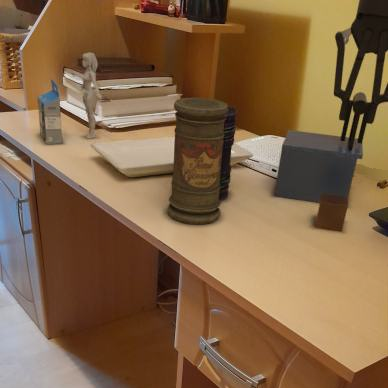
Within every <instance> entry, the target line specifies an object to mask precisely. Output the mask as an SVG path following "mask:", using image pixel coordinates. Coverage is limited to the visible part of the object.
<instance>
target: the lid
mask: <svg viewBox="0 0 388 388" xmlns="http://www.w3.org/2000/svg"><path fill="white" fill-rule="evenodd" d="M352 100H353V106H352V112H353V118H352V121H351V127H350V131H349V135H348V136H346V137H345V141H341V135H333V134H325V133H317V132H310V131H309V132H308V131H300V130H292V129H289V130H288V131H287V133H286V135H285V138H284V140H283V141H282V145H281V150H282V149H287V150H294V151H302V152H310V153H317V154H325V155H333V156H340V157H348V158H356V159H357V160H363V157H364V148H363V147H364V146H363V143H362V144H361V143H358V137H357V138H356V135H357V131H358V128H359V127H358V126H359V122H360V118H361V115H362V116H363V115H364V113H365V112H366V110H367V102H368V101H367V95H366V93H364V92H361V91H359V92H357V93H355V94H354V95H353V98H352Z"/></svg>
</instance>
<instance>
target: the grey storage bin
mask: <svg viewBox="0 0 388 388" xmlns="http://www.w3.org/2000/svg"><path fill="white" fill-rule="evenodd" d="M357 162H358V159H356V158H348V157H340V156H333V155H325V154H317V153H310V152H302V151H294V150H287V149H282V148H281V150H280V156H279V164H278V169H277V176H276V183H275V188H274V197H278V198H284V199H285V198H286V199H291V200H298V201H305V202H314V203H319V204H320V199H321V194H322V193H324V194H331V195H338V196H345V197H348V198H349V196H350V191H351V188H352V184H353V183H352V182H353V179H354V176H355V175H354V174H355V170H356V166H357Z"/></svg>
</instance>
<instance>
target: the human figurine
mask: <svg viewBox="0 0 388 388" xmlns="http://www.w3.org/2000/svg"><path fill="white" fill-rule="evenodd" d="M81 58H82V59H83V60H82V61H81V63H82V67H83V68H86V69H85V71H84V73H83V74H82V75H81V80H82V85H81V86H79V88H81V89H80V91H82V92H83V94H82V103H83V105H84V107H85V115H87V116H86V117H87V121H88V122H87V123H88V134H86V135H84V138H86V139H95V138H96V137H97V135H96V133H95V128H96V125H97V120H96V117H95V115H94V114H95V113H96V109H97V103H98V100H99V102H102V100H104V98H103V96H102V95H101V93H100V89H99V86H98V84H97V83H96V81H97V80H96V79H97V75H96V74H97V73H96V72H97V69H98V65H99V64H98V59H97V57H96V54H95V53H94V52H90V51H88V52H85V53H83V54H82V57H81ZM92 82H93V87H92Z"/></svg>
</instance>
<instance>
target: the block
mask: <svg viewBox="0 0 388 388" xmlns="http://www.w3.org/2000/svg"><path fill="white" fill-rule="evenodd" d="M348 208H349V196H348V197H345V196H338V195H331V194H324V193H322V194H321V199H320V203H319V204H318V208H317V213H316V219H315V225H314V228H317V229H324V230H330V231H336V232H342V231H343V227H344V224H345V219H346V215H347V211H348Z"/></svg>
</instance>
